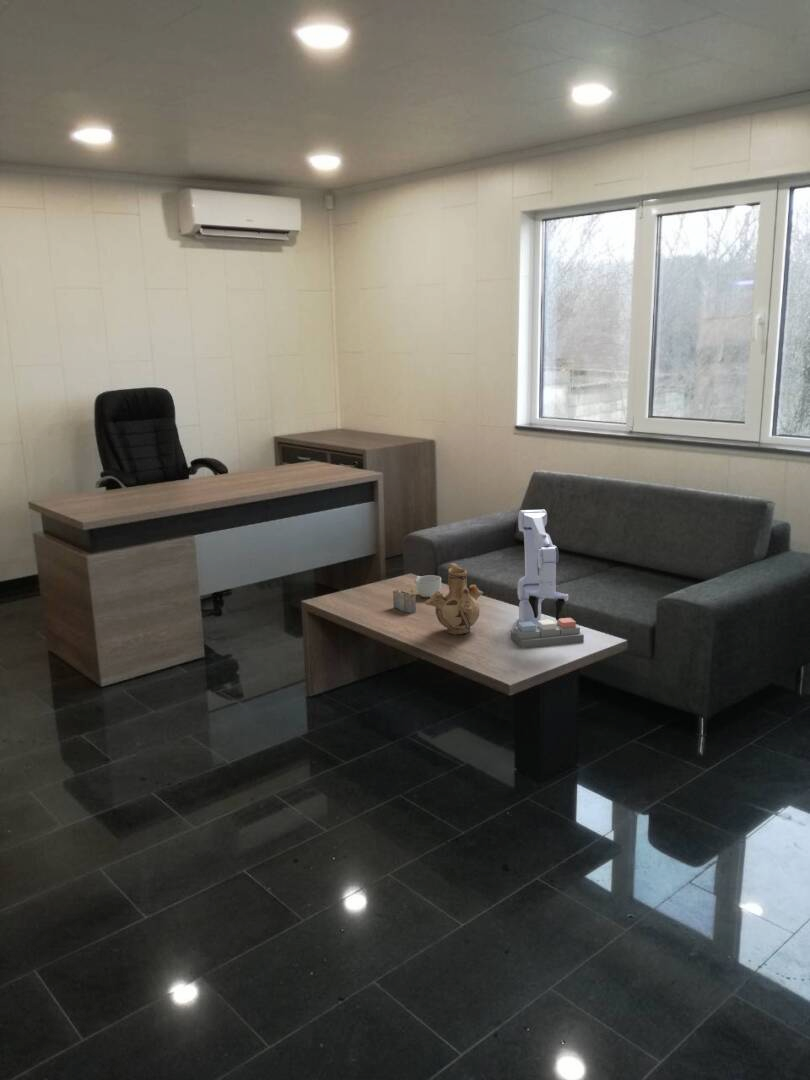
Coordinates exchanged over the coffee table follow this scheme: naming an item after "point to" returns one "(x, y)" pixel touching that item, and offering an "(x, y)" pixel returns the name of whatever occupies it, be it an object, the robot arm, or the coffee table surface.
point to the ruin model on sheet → (404, 601)
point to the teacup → (428, 585)
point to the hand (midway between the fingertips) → (546, 618)
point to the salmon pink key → (566, 623)
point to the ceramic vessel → (457, 602)
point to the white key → (546, 624)
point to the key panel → (547, 636)
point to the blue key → (526, 626)
